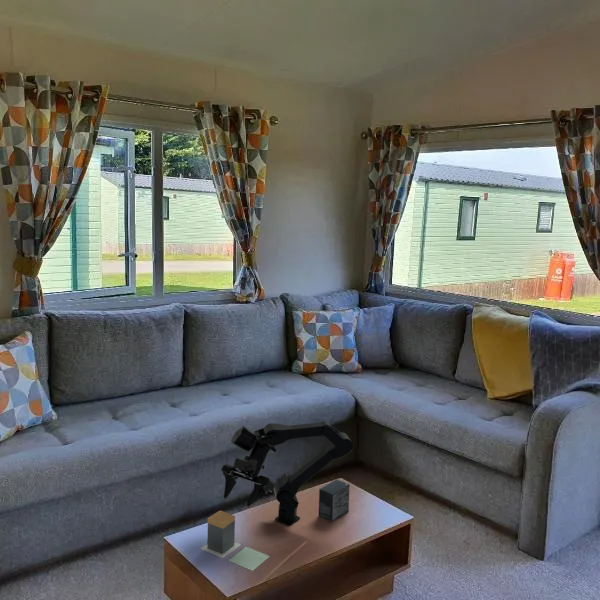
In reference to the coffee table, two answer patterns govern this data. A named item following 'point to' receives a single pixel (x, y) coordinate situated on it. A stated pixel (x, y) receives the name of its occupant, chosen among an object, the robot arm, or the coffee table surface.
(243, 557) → the stand
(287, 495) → the robot arm
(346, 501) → the small box
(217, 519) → the cover
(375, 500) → the coffee table surface
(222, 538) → the base
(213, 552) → the stand
